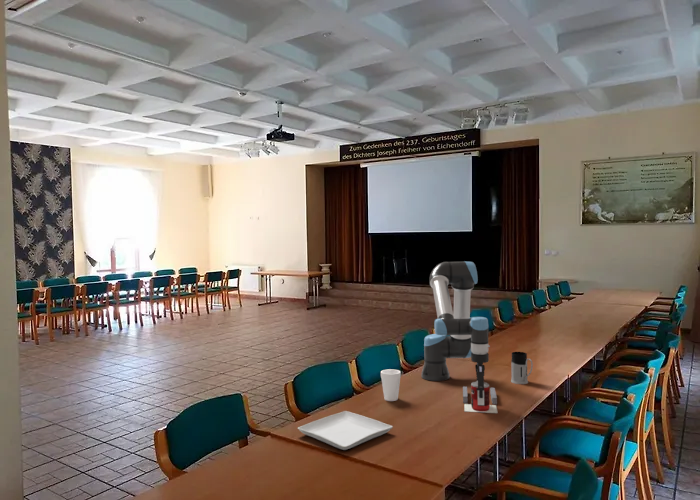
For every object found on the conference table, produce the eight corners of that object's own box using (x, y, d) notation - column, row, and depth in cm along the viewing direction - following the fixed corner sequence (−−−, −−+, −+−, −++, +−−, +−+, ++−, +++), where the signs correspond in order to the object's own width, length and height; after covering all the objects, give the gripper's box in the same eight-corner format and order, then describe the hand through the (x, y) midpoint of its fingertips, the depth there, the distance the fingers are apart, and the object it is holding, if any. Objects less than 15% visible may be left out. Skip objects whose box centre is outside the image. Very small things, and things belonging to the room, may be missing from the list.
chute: (463, 411, 229) (463, 404, 229) (462, 392, 257) (462, 386, 257) (498, 413, 226) (498, 406, 226) (494, 393, 254) (494, 387, 254)
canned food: (476, 404, 238) (475, 380, 238) (492, 407, 233) (492, 383, 232) (468, 409, 232) (467, 384, 232) (485, 412, 227) (484, 387, 227)
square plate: (296, 436, 205) (296, 426, 205) (346, 418, 225) (345, 409, 225) (344, 456, 186) (344, 445, 186) (394, 434, 206) (394, 424, 205)
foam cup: (384, 402, 243) (384, 375, 243) (378, 397, 252) (378, 370, 252) (404, 400, 246) (403, 373, 245) (397, 395, 255) (396, 368, 254)
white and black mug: (520, 378, 279) (520, 350, 279) (539, 385, 266) (539, 356, 266) (507, 380, 276) (506, 352, 276) (525, 387, 263) (525, 358, 262)
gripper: (490, 359, 219) (490, 409, 219) (487, 346, 243) (487, 391, 244) (471, 358, 220) (472, 408, 221) (470, 346, 245) (471, 391, 245)
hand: (480, 400), depth 232 cm, fingers open, 13 cm apart
